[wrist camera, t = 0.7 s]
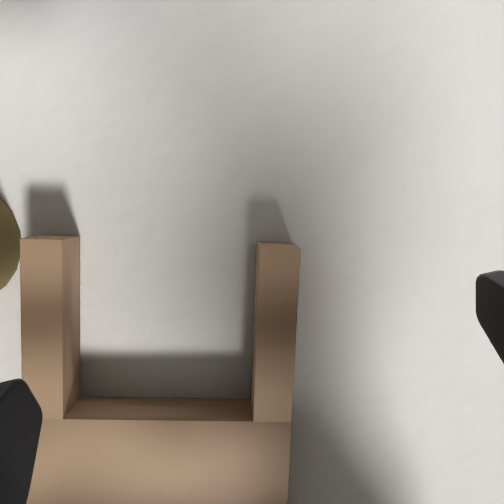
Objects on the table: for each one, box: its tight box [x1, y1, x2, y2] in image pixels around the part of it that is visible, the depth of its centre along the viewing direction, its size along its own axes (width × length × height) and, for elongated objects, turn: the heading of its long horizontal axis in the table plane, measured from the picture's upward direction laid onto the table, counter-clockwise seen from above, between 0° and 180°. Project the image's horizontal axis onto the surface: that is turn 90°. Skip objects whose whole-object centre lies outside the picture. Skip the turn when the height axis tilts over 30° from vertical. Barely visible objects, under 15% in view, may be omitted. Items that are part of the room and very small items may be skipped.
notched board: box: [20, 235, 300, 504], centre depth 22 cm, size 20×12×2 cm, turn 178°
